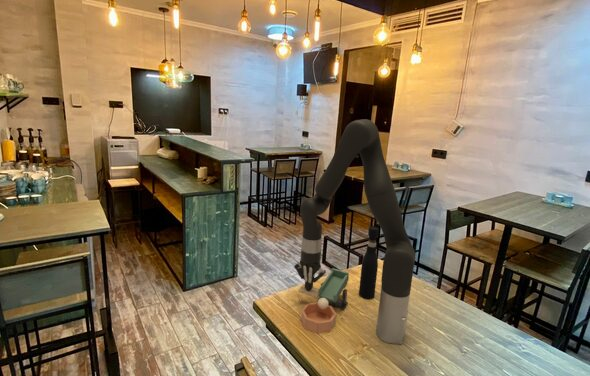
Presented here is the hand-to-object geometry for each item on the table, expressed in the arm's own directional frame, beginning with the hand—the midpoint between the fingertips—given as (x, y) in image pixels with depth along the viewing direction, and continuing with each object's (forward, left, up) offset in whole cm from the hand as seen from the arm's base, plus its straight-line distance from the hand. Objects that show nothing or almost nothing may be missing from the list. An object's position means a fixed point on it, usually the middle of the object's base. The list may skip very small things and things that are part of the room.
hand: (308, 289), depth 123 cm
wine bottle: (-18, -19, -7) cm, 27 cm away
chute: (-4, -6, -2) cm, 8 cm away
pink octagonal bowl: (-8, +8, -6) cm, 13 cm away
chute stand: (-8, -6, -6) cm, 12 cm away
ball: (-8, +4, -1) cm, 9 cm away
